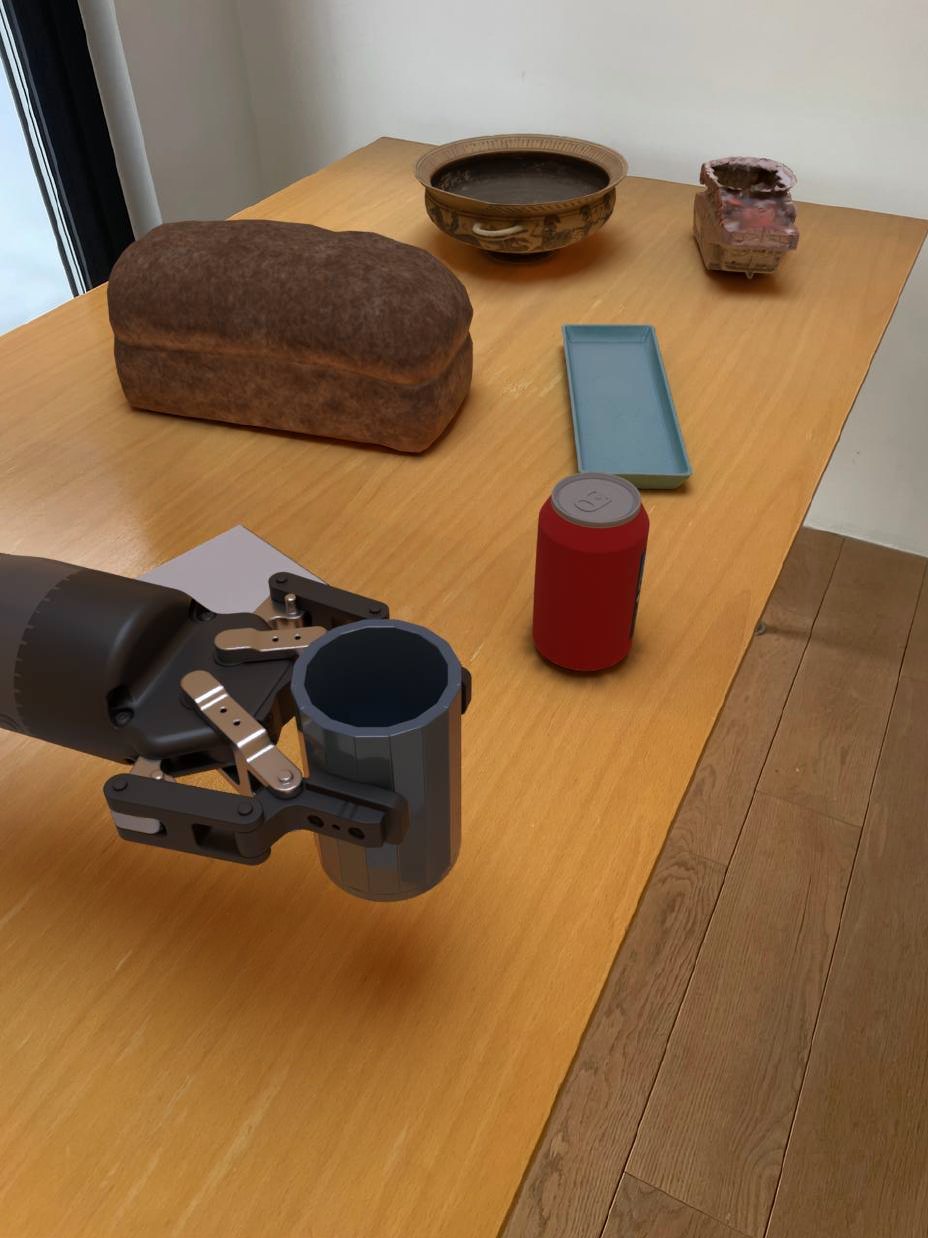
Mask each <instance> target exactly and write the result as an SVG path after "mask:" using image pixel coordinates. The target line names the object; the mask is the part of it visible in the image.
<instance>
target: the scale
mask: <svg viewBox="0 0 928 1238" xmlns="http://www.w3.org/2000/svg"><path fill="white" fill-rule="evenodd" d="M278 572H289V573H292V574H295V575H298V576H301V577H305V578H308V579H311V580H314V581H317V582H320V583H323V584H326V585H330V584H329V583H327V582H326V581H324V580H323V579H322V578H320V577H319V576H317V575H316V574H314V573H313V572H312V571H310V570H308V569H307V568H306V567H304V566H303V565H301V564H300V563H298V562H296V560H294V559H292V558H291V557H290V556H288V555H287V554H285V553H283V552H282V551H281V550H279V549H278V548H276V547H275V546H274V545H272V544H270V543H269V542H268V541H266V540H265V539H263V538H261V537H260V536H259V535H257V534H256V533H254V532H253V531H252V530H250V529H249V528H247V527H246V526H244V525H241V524H238V525H236V526H234V527H232V528H230V529H227V530H226V531H224V532H222V533H220V534H218V535H217V536H215V537H213V538H211V539H209V540H207V541H205V542H203V543H200V544H199V545H197V546H195V547H194V548H191V549H189V550H187V551H186V552H184V553H182V554H179V555H178V556H176V557H174V558H172V559H170V560H168V561H166V562H163V564H160V565H158V566H156V567H155V568H153V569H150V570H148V571H147V572H145V573H143V574H141V575H139V576H137V577H135V578H134V579H136V580H140V581H145V582H149V583H153V584H157V585H161V586H165V587H170V588H174V589H178V590H181V591H183V592H185V593H187V594H188V595H190V596H191V597H193V598H194V599H195V600H196V601H198V602H199V603H200V604H202V605H203V606H205V607H206V608H208V609H209V610H211V611H213V612H215V613H222V614H230V613H240V612H249V613H253V612H254V611H255V610H256V609H257V608H258V607H259V606H260V605H261V604H262V603H263V602H264V601H265V600H266V599H267V598H268V597H269V595H270V590H269V584H268V580H269V578H270V577H271V576H272V575H273V574H275V573H278ZM348 622H349V623H354V622H353V621H350V620H348ZM298 658H299V657H296V659H297V660H298Z"/></svg>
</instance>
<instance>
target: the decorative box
mask: <svg viewBox="0 0 928 1238" xmlns="http://www.w3.org/2000/svg"><path fill="white" fill-rule="evenodd" d="M698 181H699V184H700V185H702V186H703V185H704V186H705V187H706V190H704V191H698V192H696V193H695V196H694V202H693V209H692V210H693V211H692V212H693V220H692V221H693V222H692V232H693V234H694V237H695V239H696V242H697V244H698V247H699V250H700V254H701V256H702V260H703V263H704V265H705V267H706V269H707V270H716V271H726V272H738V273H741V272H742V273H745V275H746V277H747V279H752V278H753V276H754V274H773V273H775V272H776V270H777V269H778V268H779V266H780V264H781V262H782V260H784V258H785V257H786V255H787V254H788V253H789V252H792V251H797V249H798V245H799V240H800V236H801V233H800V230H799V228H798V226H796V225H795V222H796V218H797V212H798V207H797V205H796V204H795V203H794V202H793V198H792V194H791V192H790V190H791V189H792V188H793V187H794V186H795V185H796V184H797V182H798V179H797V175H795V174H794V171H793V170H792V169H791V168H789V167H788V165H786V164H784V163H782V162H779V161H776V160H773V159H770V158H765V157H755V156H748V155H747V156H728V157H724V158H723V157H722V158H717V159H713V160H710V161H708V162H704V163H702V164H701V167H700V173H699V180H698ZM829 233H831V231H830V232H829Z"/></svg>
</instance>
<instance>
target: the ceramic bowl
mask: <svg viewBox="0 0 928 1238" xmlns="http://www.w3.org/2000/svg"><path fill="white" fill-rule="evenodd" d="M412 171H413V174H414V177H415V179H417V181H418V182H419V183H420V184H421V186H422V187H424V195H423V196H424V206H425V210H426V213H427V215H428V217H429V219H430V221H431V222H432V223H433V225H435V227H436V228H437V229H439V230H440V231H441V232H442V233H444V234H445V235H447V236H448V237H450V238H452V239H454V240H456V241H458V242H460V243H462V244H465V245H468V246H472V247H474V248H478V249H482V250H485V253H486V255H487V256H488V258H490V259H492V260H495V261H498V262H502V263H507V264H516V265H517V264H518V265H519V264H533V263H538V262H542V261H544V260H546V259H547V260H548V259H549V258H551V256H553V254H554V252H555V250H558V249H561V248H565V247H569V246H571V245H573V244H576V243H579V242H581V241H582V240H585V239H587V238H588V237H590V236H592V235H594V234H595V233H596V232H597V231H599V230H600V229H602V227H603V226H604V225H606V223H607V222H608V221H609V219H610V218H611V216H612V214H613V213H614V209H615V206H616V202H617V189H616V187H617V186H618V185H619V184H620V183H621V182H622V181H623V180H624V179H625V177H626V176H627V173H628V171H629V164H628V162H627V159H625V157H624V156H623V154H621V153H620V152H618V151H617V150H615V149H613V148H610V147H609V146H606V145H605V144H601V143H598V142H594V141H591V140H586V139H582V138H577V137H572V136H564V135H561V136H560V135H555V134H545V133H544V134H543V133H505V134H503V133H502V134H493V135H480V136H474V137H473V136H472V137H467V138H462V139H457V140H454V141H450V142H447V143H444V144H441V145H438V146H435V147H433V148H431V149H429V150H427V151H426V152H423V154H422V155H420V156H419V157H418V158H417V159H416V160H415V162H414V164H413V168H412Z"/></svg>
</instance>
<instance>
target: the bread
mask: <svg viewBox="0 0 928 1238" xmlns="http://www.w3.org/2000/svg"><path fill="white" fill-rule="evenodd" d="M110 271H111V272H110V274H109V276H108V282H107V288H106V298H107V300H106V301H107V310H108V321H109V325H110V328H111V330H112V333H113V336H114V337H113V357H114V363H115V368H116V373H117V377H118V380H119V383H120V386H121V389H122V392H123V394H124V397H125V399H126V400H127V401H128V403H129V404H130V405H131V406H132V407H135V408H139V409H143V410H147V411H148V410H149V411H153V412H158V413H165V414H171V415H177V416H183V417H188V418H197V419H205V420H212V421H213V420H214V421H219V422H226V423H232V424H237V425H245V426H255V427H262V428H268V429H274V430H280V431H286V432H291V433H298V434H304V435H309V436H318V437H324V438H330V439H337V440H343V441H350V442H357V443H365V444H374V445H381V446H385V447H387V448H391V449H393V450H396V451H398V452H406V453H407V452H408V453H409V452H410V453H421V452H423V451H426V450H428V449H429V448H430V447H431V445H432V444H433V443H434V442H435V441H436V440H437V439H438V438H439V437H440V436H441V435H442V434H443V432H444V431H445V430H446V428H447V427H448V425H449V424H450V423H451V422H452V419H454V417H455V415H456V414H457V412H458V411H459V409H460V407H461V405H462V404H463V401H465V398H466V396H467V394H468V393H469V391H470V387H471V385H472V380H473V370H474V342H473V338H472V336H471V335H472V334H471V332H470V329H471V325H472V321H473V317H474V308H473V305H472V302H471V300H470V296H469V293H468V290H467V288H466V286H465V285H464V283H463V282H462V281H461V280H460V279H459V278H458V277H457V275H456V274H455V273H454V272H453V271H452V270H451V269H450V268H449V266H447V265H446V264H445V263H444V262H442V261H441V260H440V259H439V258H437V257H436V256H435V255H434V254H433V253H431V252H430V251H429V250H427V248H423V247H420V246H416V245H412V244H409V243H406V242H402V241H399V240H396V239H393V238H391V237H388V236H385V235H382V234H381V233H377V232H374V231H363V230H342V231H334V230H331V229H327V228H324V227H321V226H319V225H318V226H317V225H314V224H311V223H303V222H302V223H301V222H292V221H291V222H290V221H283V220H282V221H281V220H274V219H273V220H272V219H260V218H259V219H256V218H255V219H253V218H252V219H251V218H249V219H247V218H246V219H245V218H244V219H227V220H224V219H223V220H183V221H182V220H181V221H173V222H165V223H163V222H162V223H161V224H159V225H157V226H155V227H153V228H152V229H150V230H149V231H148V232H146V233H145V234H144V235H142V236H141V237H140V238H138V239H136V240H134V241H133V242H131V243H130V244H129V245H128V246H127V247H126V248H125V250H124V251H122V252H121V255H120V256H119V257H118V259H117V260H116V262H115V263H114V265H113V266H112V268H111V270H110Z"/></svg>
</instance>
